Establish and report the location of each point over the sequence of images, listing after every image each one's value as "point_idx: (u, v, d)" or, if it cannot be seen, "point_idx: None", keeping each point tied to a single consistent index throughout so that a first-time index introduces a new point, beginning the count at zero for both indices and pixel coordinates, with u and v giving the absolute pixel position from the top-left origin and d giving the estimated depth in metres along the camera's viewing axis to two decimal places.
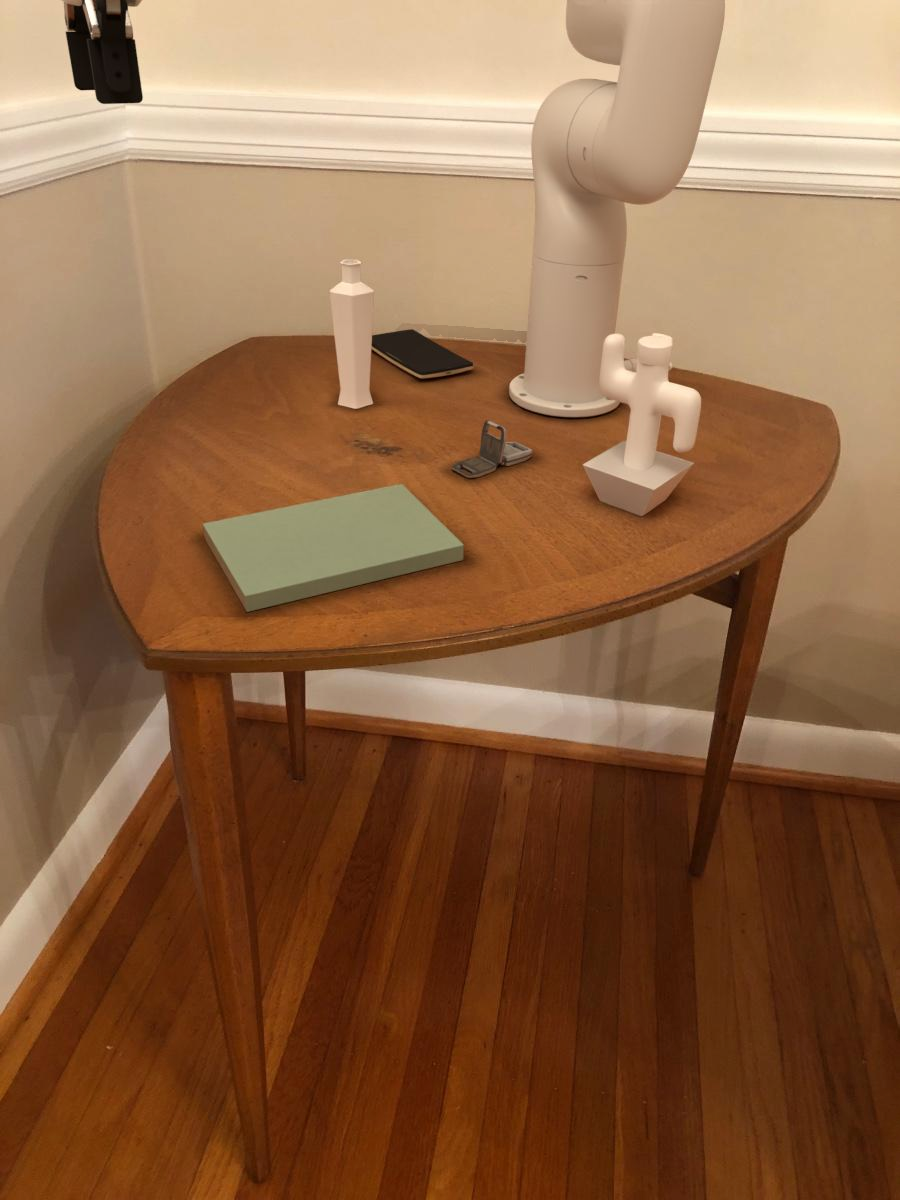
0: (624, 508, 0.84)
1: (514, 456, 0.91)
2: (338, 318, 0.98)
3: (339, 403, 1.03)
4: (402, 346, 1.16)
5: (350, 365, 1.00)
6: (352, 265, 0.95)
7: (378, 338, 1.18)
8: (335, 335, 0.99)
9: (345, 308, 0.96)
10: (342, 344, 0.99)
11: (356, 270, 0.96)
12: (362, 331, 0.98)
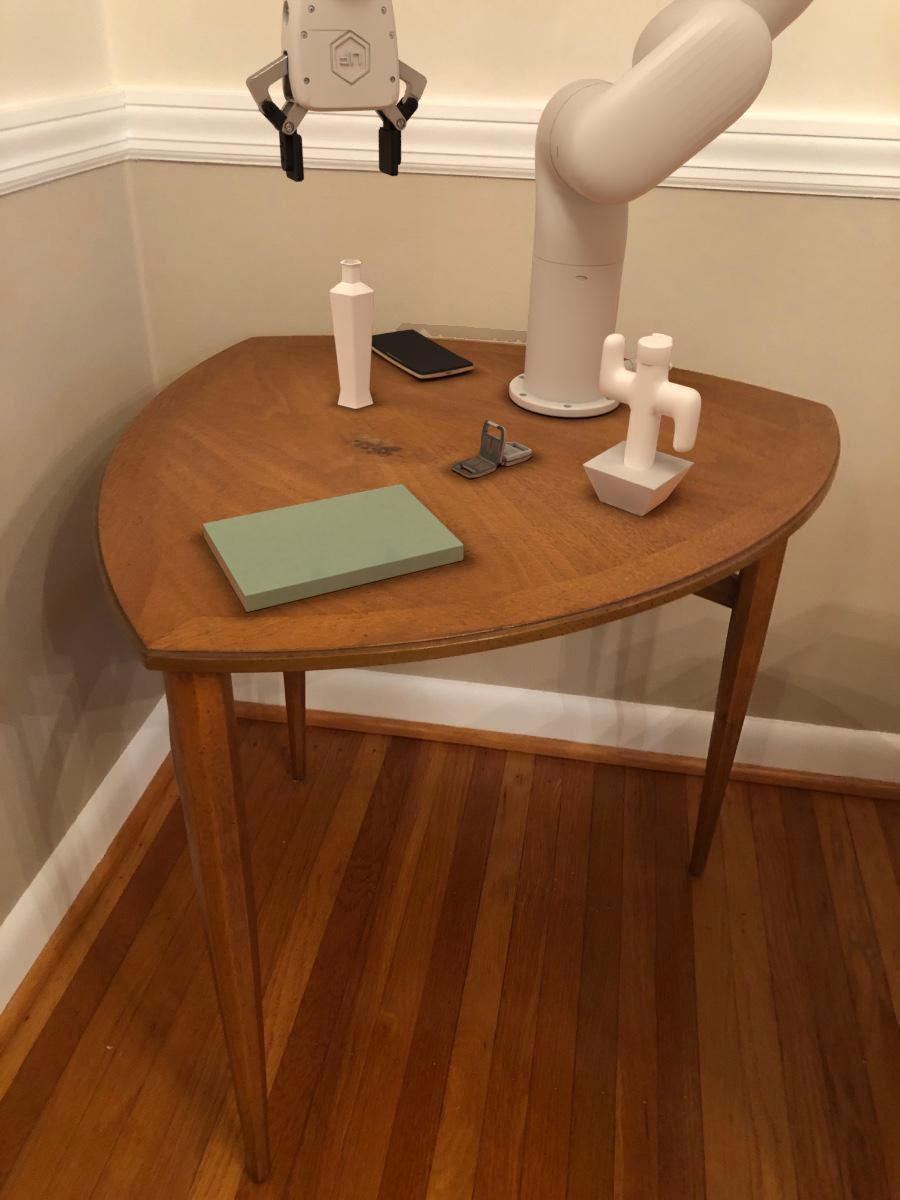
0: (624, 508, 0.84)
1: (514, 456, 0.91)
2: (338, 318, 0.98)
3: (339, 403, 1.03)
4: (402, 346, 1.16)
5: (350, 365, 1.00)
6: (352, 265, 0.95)
7: (378, 338, 1.18)
8: (335, 335, 0.99)
9: (345, 308, 0.96)
10: (342, 344, 0.99)
11: (356, 270, 0.96)
12: (362, 331, 0.98)
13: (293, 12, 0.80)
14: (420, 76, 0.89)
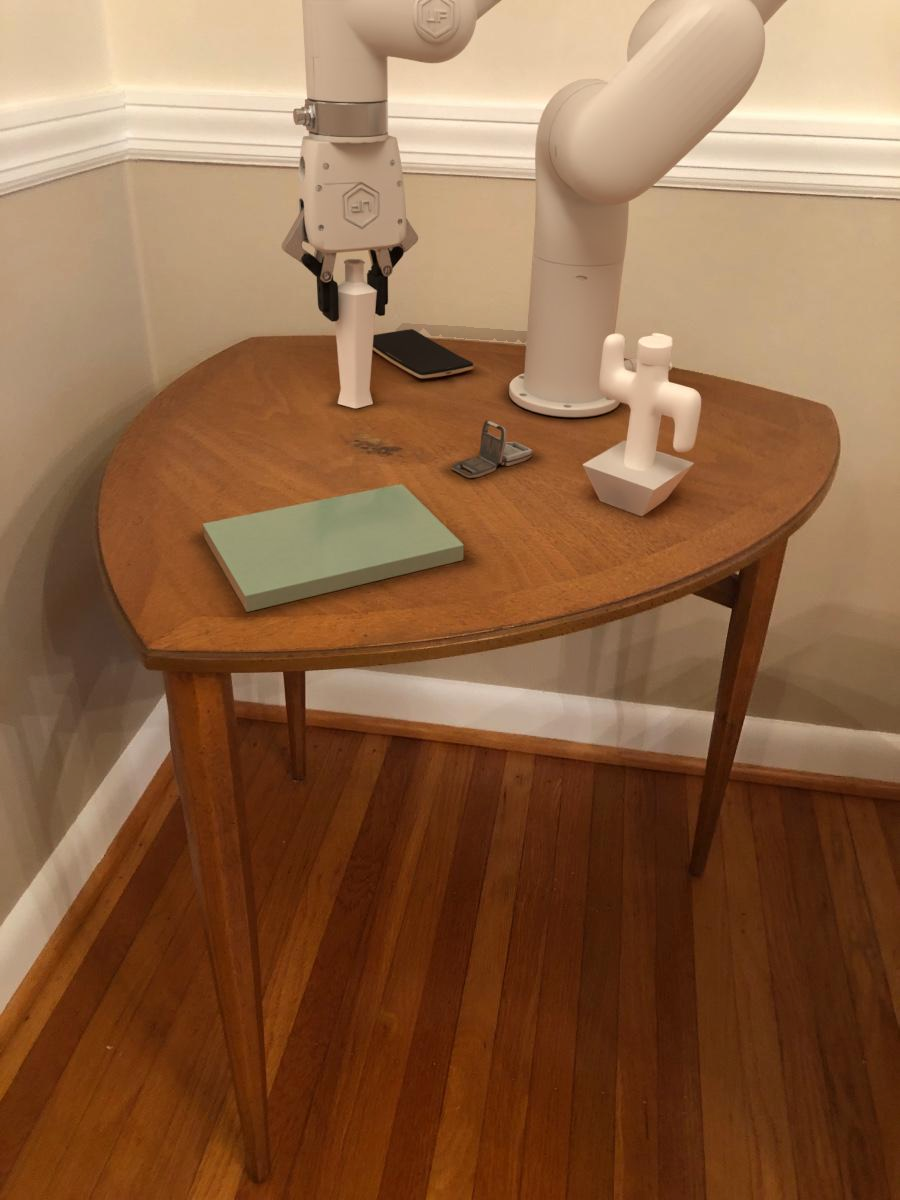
0: (624, 508, 0.84)
1: (514, 456, 0.91)
2: (340, 317, 0.98)
3: (339, 402, 1.03)
4: (402, 346, 1.16)
5: (351, 365, 1.00)
6: (355, 264, 0.95)
7: (378, 338, 1.18)
8: (337, 334, 0.99)
9: (348, 307, 0.96)
10: (343, 343, 0.99)
11: (359, 270, 0.96)
12: (364, 331, 0.98)
13: (309, 169, 0.87)
14: (413, 233, 0.96)
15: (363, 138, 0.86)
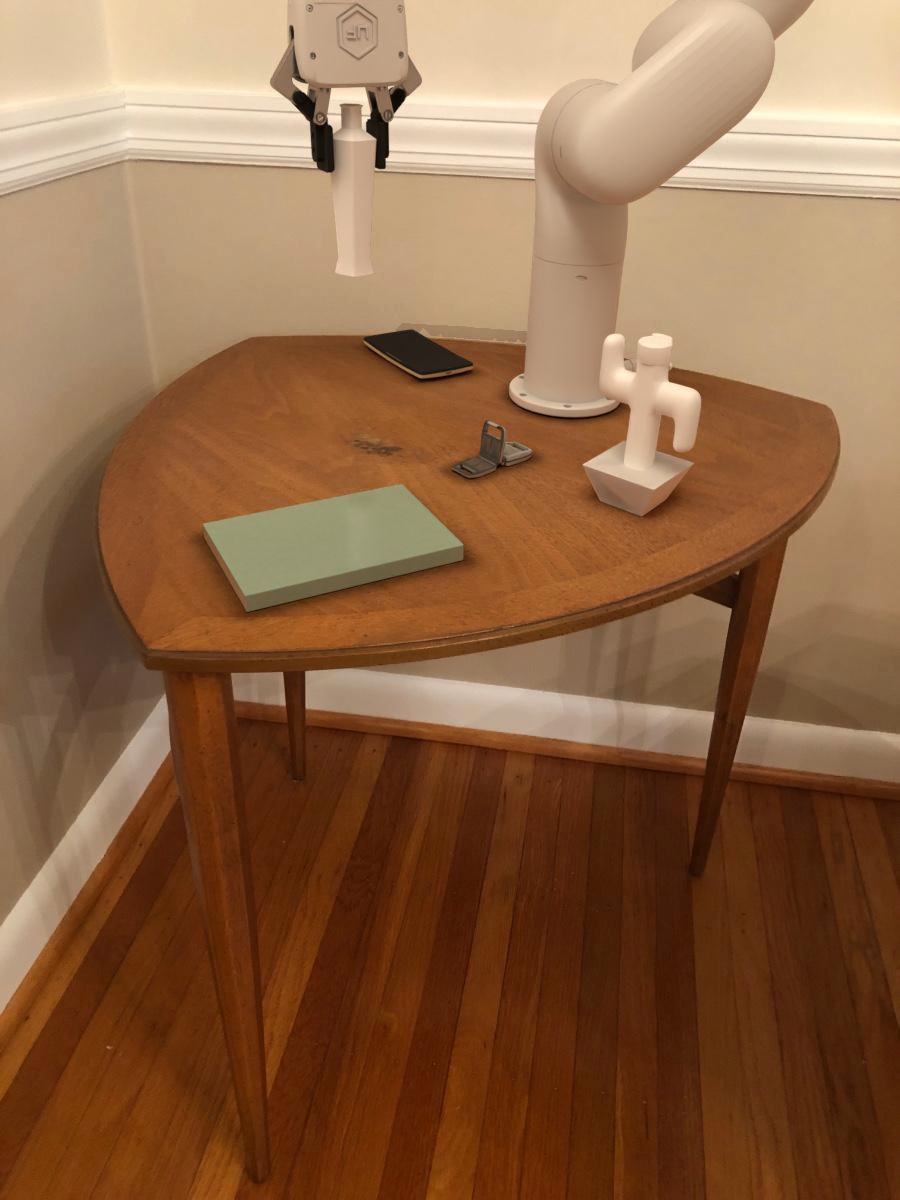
0: (624, 508, 0.84)
1: (514, 456, 0.91)
2: (336, 170, 0.89)
3: (336, 271, 0.94)
4: (402, 346, 1.16)
5: (349, 226, 0.91)
6: (352, 107, 0.86)
7: (378, 338, 1.18)
8: (333, 190, 0.90)
9: (344, 157, 0.87)
10: (340, 200, 0.90)
11: (357, 114, 0.87)
12: (362, 185, 0.89)
13: None
14: (416, 74, 0.87)
15: None
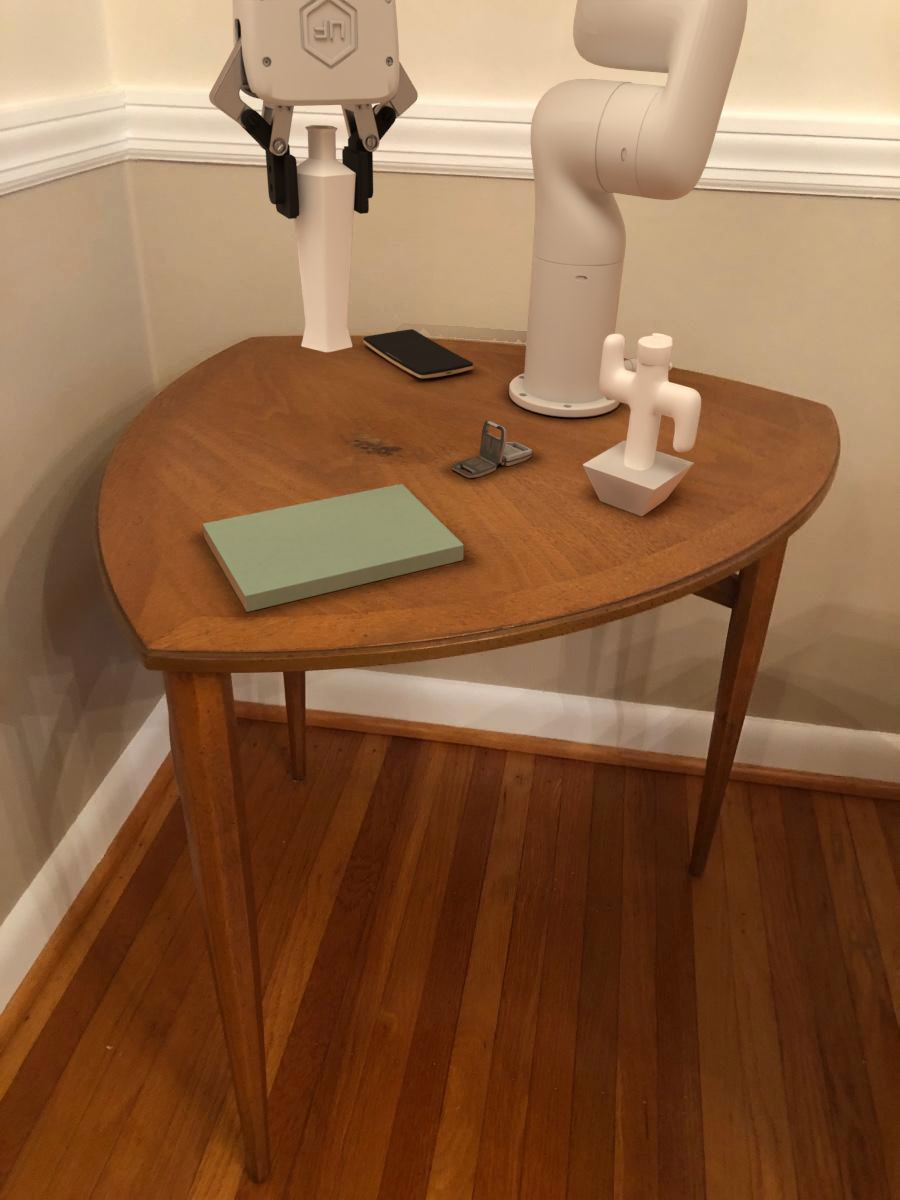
0: (624, 508, 0.84)
1: (514, 456, 0.91)
2: (301, 214, 0.66)
3: (303, 344, 0.71)
4: (402, 346, 1.16)
5: (319, 287, 0.68)
6: (323, 130, 0.63)
7: (378, 338, 1.18)
8: (298, 240, 0.67)
9: (312, 197, 0.65)
10: (308, 254, 0.67)
11: (329, 139, 0.64)
12: (337, 235, 0.67)
13: None
14: (410, 88, 0.65)
15: None
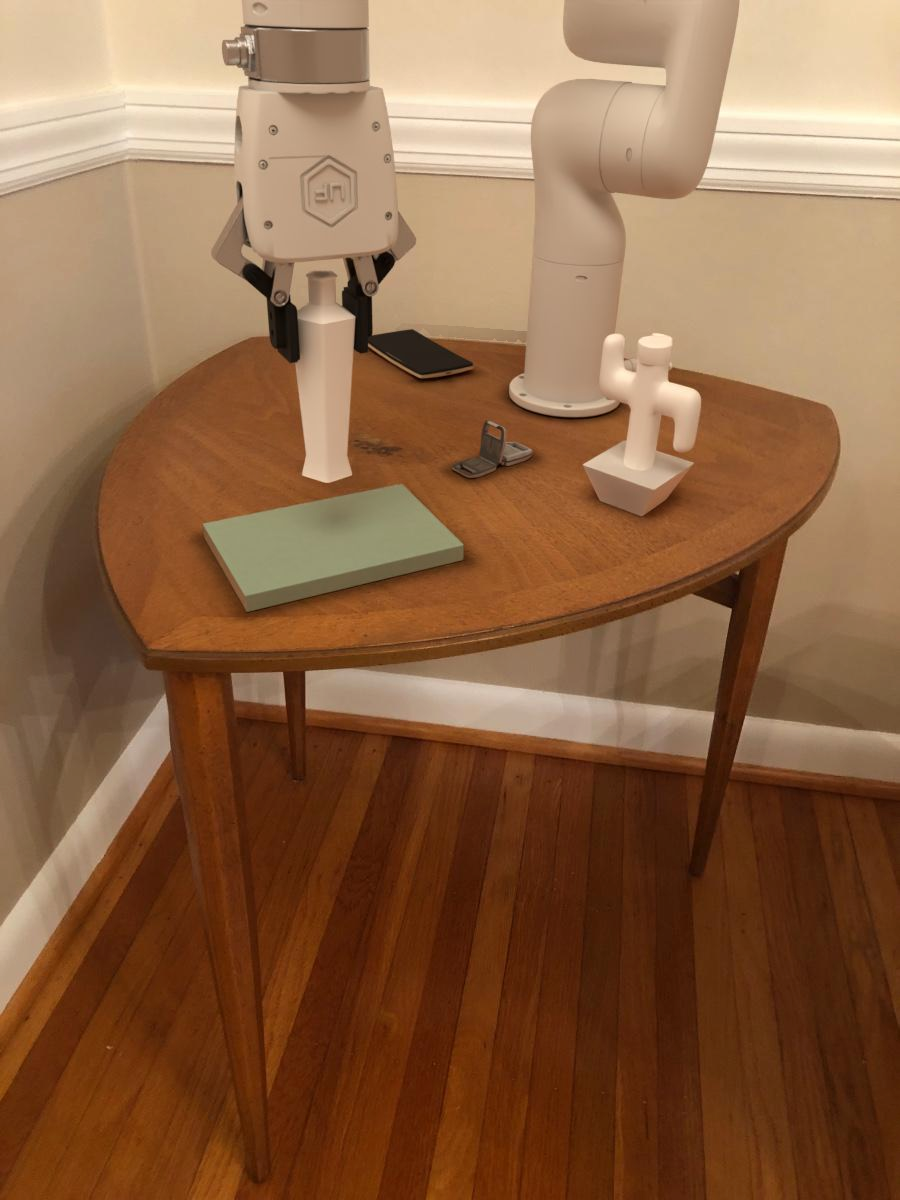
0: (624, 508, 0.84)
1: (514, 456, 0.91)
2: (302, 356, 0.67)
3: (304, 474, 0.72)
4: (402, 346, 1.16)
5: (320, 423, 0.69)
6: (323, 279, 0.64)
7: (378, 338, 1.18)
8: (298, 379, 0.68)
9: (313, 342, 0.66)
10: (308, 392, 0.68)
11: (329, 286, 0.65)
12: (337, 375, 0.68)
13: (248, 134, 0.57)
14: (409, 234, 0.66)
15: (330, 86, 0.56)
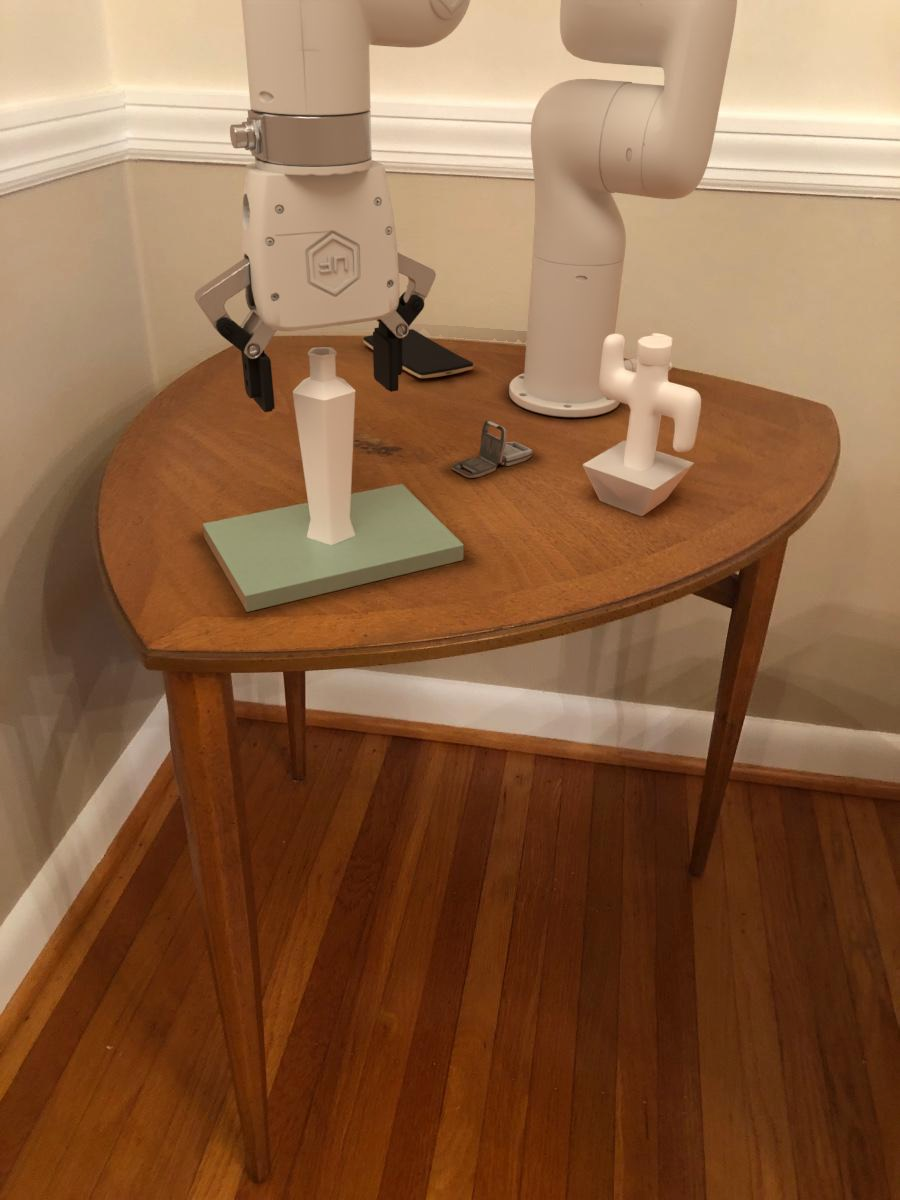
0: (624, 508, 0.84)
1: (514, 456, 0.91)
2: (305, 428, 0.70)
3: (309, 536, 0.75)
4: (402, 346, 1.16)
5: (323, 489, 0.72)
6: (324, 357, 0.67)
7: None
8: (302, 449, 0.71)
9: (315, 416, 0.69)
10: (311, 461, 0.71)
11: (330, 363, 0.68)
12: (339, 445, 0.71)
13: (255, 213, 0.59)
14: (426, 270, 0.68)
15: (334, 168, 0.58)
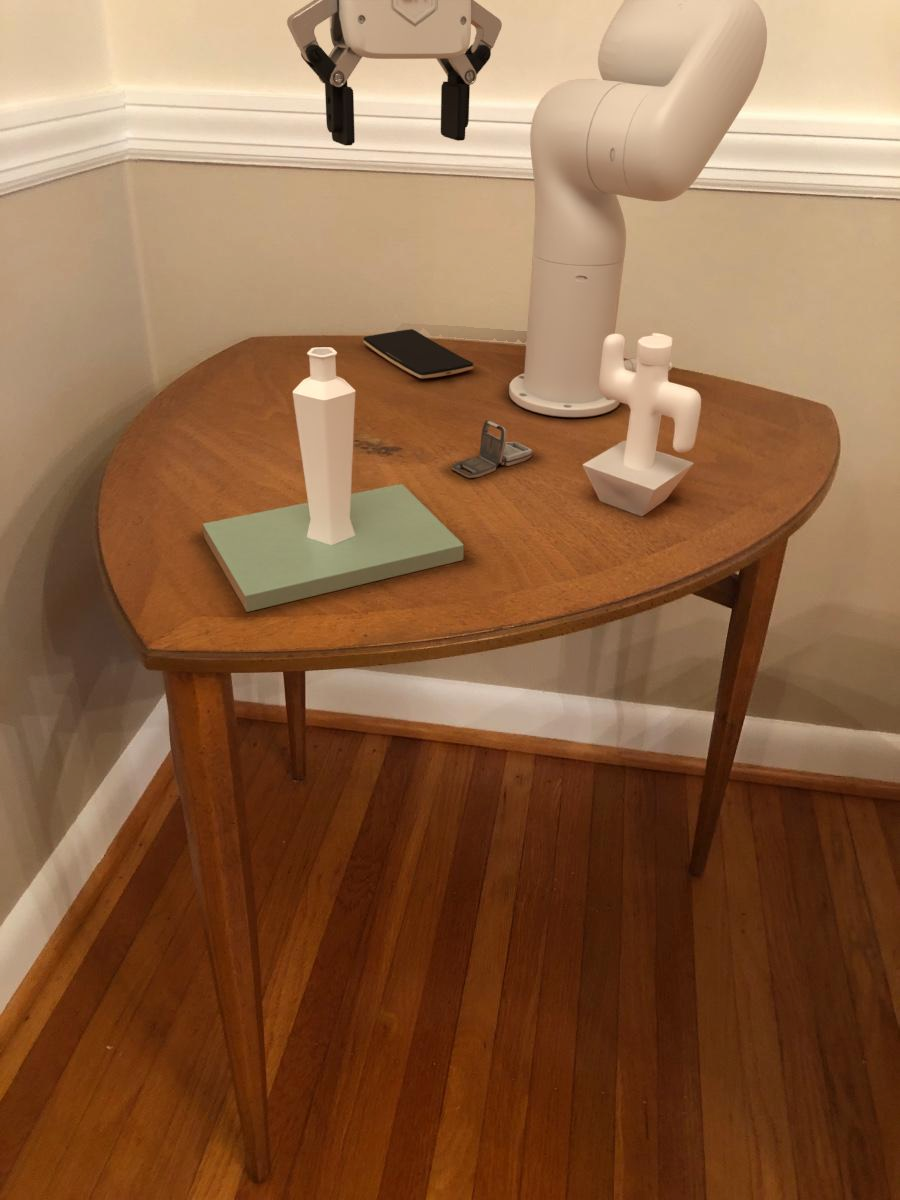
0: (624, 508, 0.84)
1: (514, 456, 0.91)
2: (305, 428, 0.70)
3: (309, 536, 0.75)
4: (402, 346, 1.16)
5: (323, 489, 0.72)
6: (324, 357, 0.67)
7: (378, 338, 1.18)
8: (302, 449, 0.71)
9: (315, 416, 0.69)
10: (311, 461, 0.71)
11: (330, 363, 0.68)
12: (339, 445, 0.71)
13: None
14: (493, 19, 0.74)
15: None
